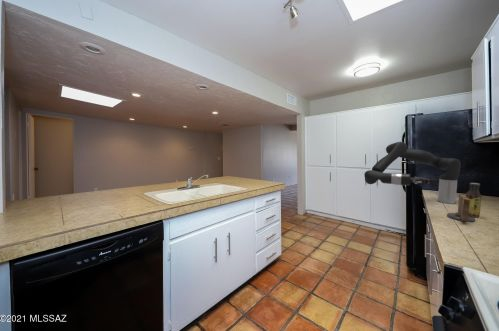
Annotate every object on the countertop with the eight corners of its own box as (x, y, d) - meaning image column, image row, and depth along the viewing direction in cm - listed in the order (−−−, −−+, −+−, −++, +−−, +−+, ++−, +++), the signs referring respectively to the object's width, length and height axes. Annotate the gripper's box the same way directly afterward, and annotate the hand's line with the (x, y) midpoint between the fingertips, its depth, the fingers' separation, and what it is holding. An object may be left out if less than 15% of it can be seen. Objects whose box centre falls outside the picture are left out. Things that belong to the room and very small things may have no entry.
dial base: (445, 213, 117) (445, 211, 116) (472, 217, 109) (472, 215, 109) (448, 219, 108) (448, 216, 108) (477, 223, 101) (478, 221, 101)
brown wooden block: (454, 213, 112) (456, 194, 111) (465, 215, 109) (467, 195, 108) (459, 220, 102) (460, 198, 101) (471, 222, 99) (473, 200, 98)
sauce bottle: (475, 218, 109) (478, 184, 107) (461, 214, 115) (463, 182, 113) (482, 216, 110) (485, 184, 109) (467, 213, 116) (470, 182, 115)
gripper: (400, 174, 115) (440, 176, 104) (400, 172, 125) (437, 174, 114) (400, 186, 116) (439, 190, 105) (400, 183, 126) (436, 186, 115)
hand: (438, 181), depth 109 cm, fingers closed
